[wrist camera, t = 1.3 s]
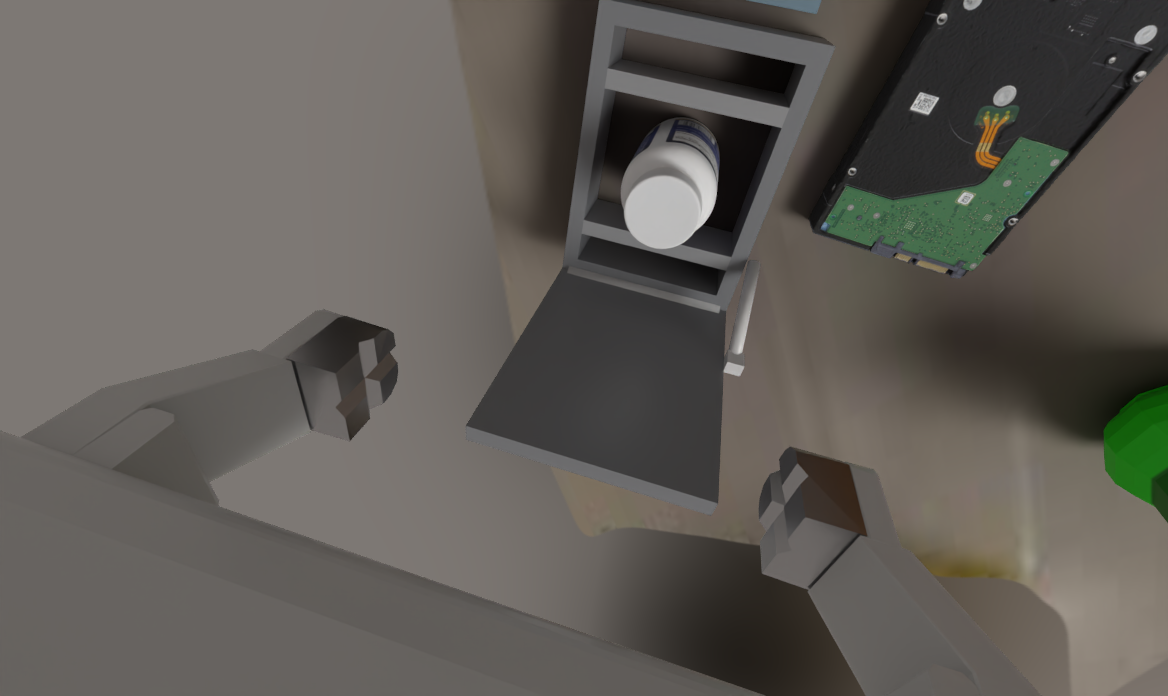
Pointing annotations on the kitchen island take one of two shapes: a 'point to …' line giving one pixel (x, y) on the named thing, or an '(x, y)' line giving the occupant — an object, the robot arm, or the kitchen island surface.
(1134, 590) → the kitchen island surface
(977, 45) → the disk drive
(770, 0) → the mat
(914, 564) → the robot arm
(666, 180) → the pill bottle
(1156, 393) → the plastic bottle
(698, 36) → the hinged lid box
